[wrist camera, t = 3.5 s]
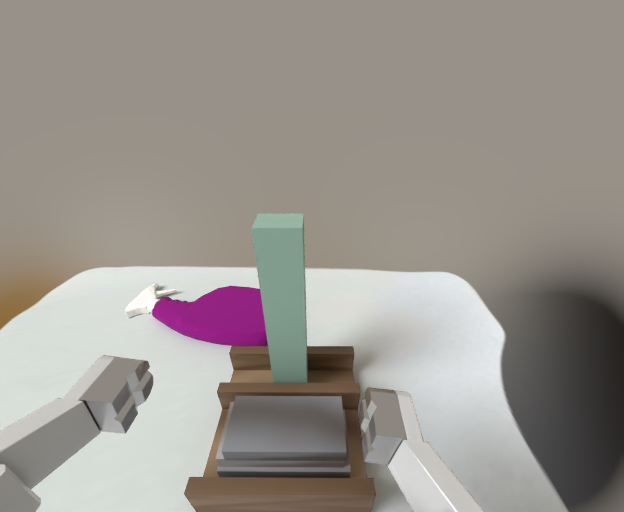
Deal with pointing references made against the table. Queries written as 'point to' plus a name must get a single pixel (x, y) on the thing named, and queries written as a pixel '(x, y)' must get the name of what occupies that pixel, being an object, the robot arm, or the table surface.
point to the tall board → (283, 292)
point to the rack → (288, 491)
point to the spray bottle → (208, 314)
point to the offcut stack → (284, 438)
